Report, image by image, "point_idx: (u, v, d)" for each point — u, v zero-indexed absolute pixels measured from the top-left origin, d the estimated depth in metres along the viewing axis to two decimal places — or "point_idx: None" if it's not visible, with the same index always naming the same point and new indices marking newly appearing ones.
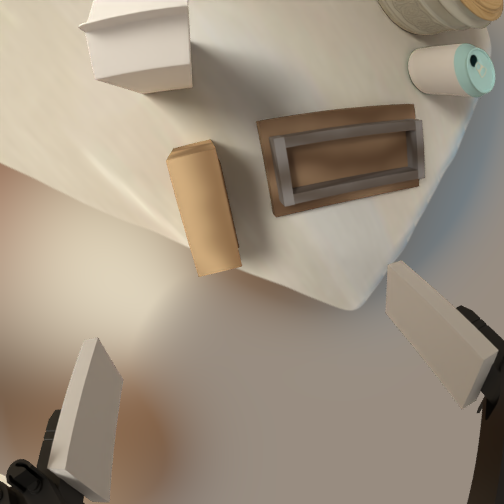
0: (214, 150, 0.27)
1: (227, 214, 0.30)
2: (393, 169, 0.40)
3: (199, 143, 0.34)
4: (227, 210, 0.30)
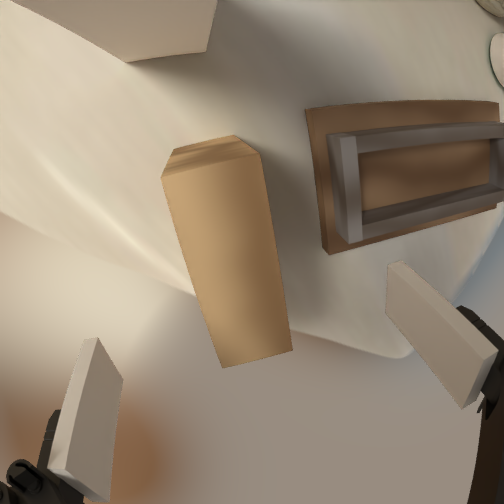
0: (257, 157, 0.14)
1: (276, 275, 0.17)
2: (475, 187, 0.26)
3: (217, 141, 0.21)
4: (276, 268, 0.17)
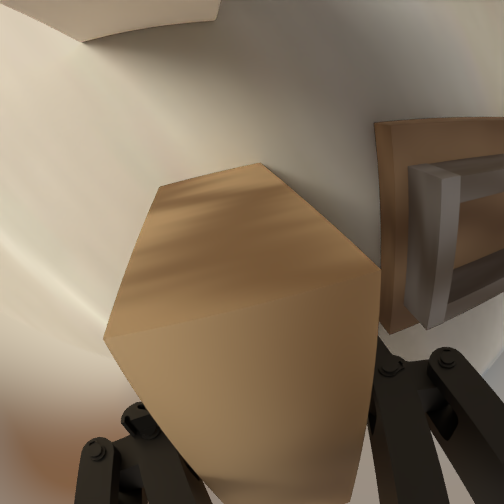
0: (373, 279, 0.05)
1: (353, 454, 0.08)
2: None
3: (235, 178, 0.12)
4: (357, 447, 0.07)
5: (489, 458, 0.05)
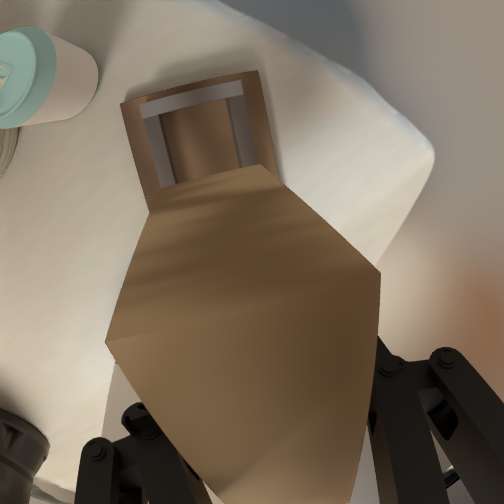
0: (373, 283, 0.05)
1: (353, 455, 0.08)
2: (232, 129, 0.26)
3: (235, 179, 0.12)
4: (356, 448, 0.07)
5: (488, 458, 0.05)
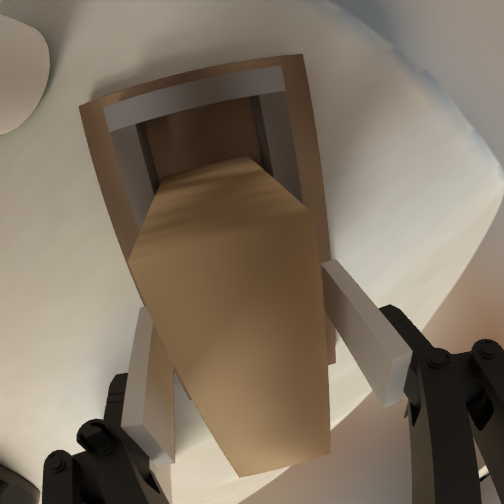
0: (309, 221, 0.08)
1: (321, 388, 0.10)
2: (260, 149, 0.16)
3: (225, 167, 0.15)
4: (323, 380, 0.10)
5: None
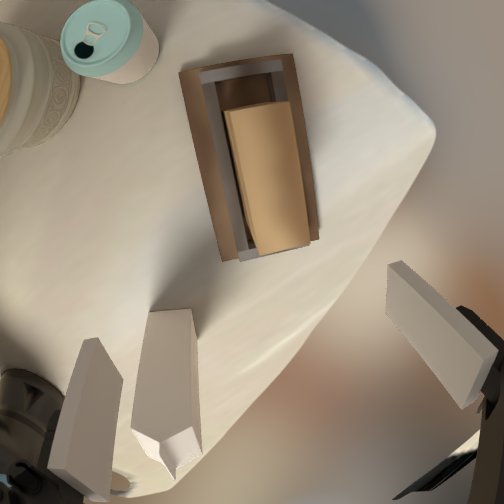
0: (288, 103, 0.22)
1: (299, 180, 0.25)
2: (271, 99, 0.31)
3: (255, 104, 0.29)
4: (299, 175, 0.25)
5: None
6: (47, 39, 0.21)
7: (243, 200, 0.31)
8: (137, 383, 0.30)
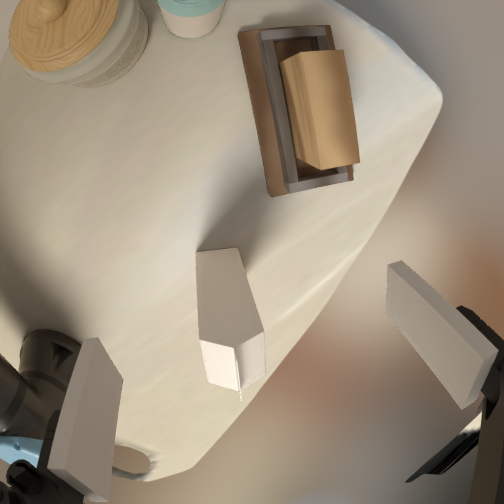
0: (342, 51, 0.26)
1: (351, 109, 0.29)
2: None
3: None
4: (351, 105, 0.28)
5: None
6: None
7: (297, 134, 0.35)
8: (198, 303, 0.33)
